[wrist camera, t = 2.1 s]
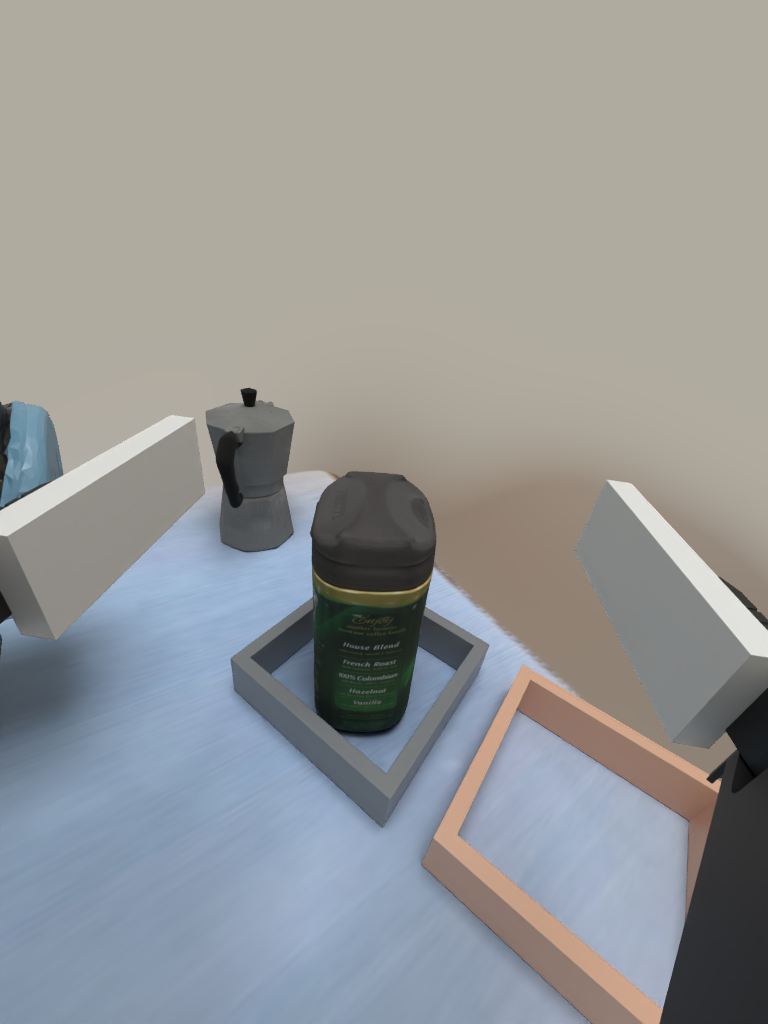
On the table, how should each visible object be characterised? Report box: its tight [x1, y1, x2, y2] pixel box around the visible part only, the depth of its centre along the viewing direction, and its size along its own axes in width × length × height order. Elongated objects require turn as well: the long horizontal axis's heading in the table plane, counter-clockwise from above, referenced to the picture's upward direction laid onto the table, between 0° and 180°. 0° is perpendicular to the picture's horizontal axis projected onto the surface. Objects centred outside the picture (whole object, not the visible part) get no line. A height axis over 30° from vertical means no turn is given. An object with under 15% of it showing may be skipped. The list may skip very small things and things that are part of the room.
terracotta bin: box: [422, 665, 721, 1024], centre depth 26 cm, size 15×15×4 cm
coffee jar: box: [310, 472, 436, 732], centre depth 29 cm, size 10×8×19 cm
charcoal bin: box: [231, 598, 489, 827], centre depth 34 cm, size 15×15×4 cm
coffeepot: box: [206, 388, 294, 552], centre depth 45 cm, size 15×9×18 cm, turn 179°
